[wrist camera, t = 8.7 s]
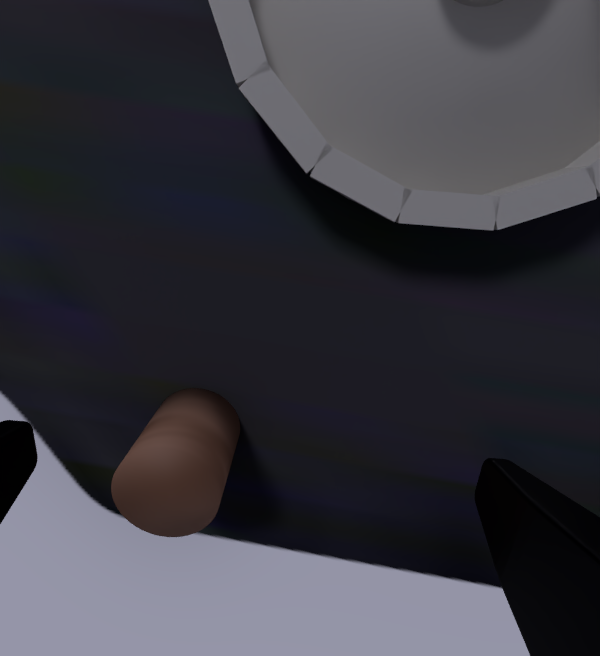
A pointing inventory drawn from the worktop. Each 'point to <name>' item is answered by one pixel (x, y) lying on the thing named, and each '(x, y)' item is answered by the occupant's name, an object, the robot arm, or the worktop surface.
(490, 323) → the worktop surface
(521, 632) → the robot arm
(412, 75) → the tray
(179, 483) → the bead terracotta
